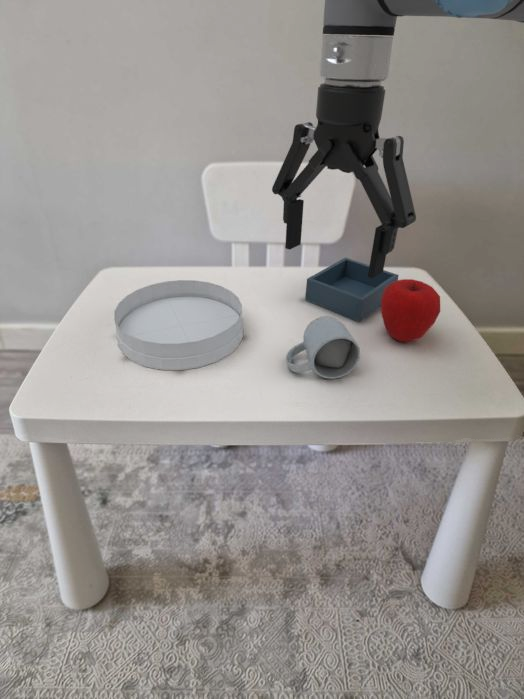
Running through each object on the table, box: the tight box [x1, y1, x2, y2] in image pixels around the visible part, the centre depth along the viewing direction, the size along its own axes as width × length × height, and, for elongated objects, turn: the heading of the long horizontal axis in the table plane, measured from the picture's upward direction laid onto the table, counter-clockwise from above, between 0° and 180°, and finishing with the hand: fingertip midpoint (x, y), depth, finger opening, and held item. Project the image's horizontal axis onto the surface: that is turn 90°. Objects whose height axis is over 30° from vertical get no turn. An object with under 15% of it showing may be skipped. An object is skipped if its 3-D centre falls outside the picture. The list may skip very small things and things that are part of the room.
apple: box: [380, 278, 441, 343], centre depth 78 cm, size 10×10×11 cm
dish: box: [113, 279, 244, 371], centre depth 80 cm, size 22×22×5 cm
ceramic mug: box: [285, 315, 361, 380], centre depth 72 cm, size 11×8×8 cm
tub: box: [304, 257, 400, 323], centre depth 91 cm, size 13×14×5 cm
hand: (331, 259), depth 63 cm, fingers open, 13 cm apart
